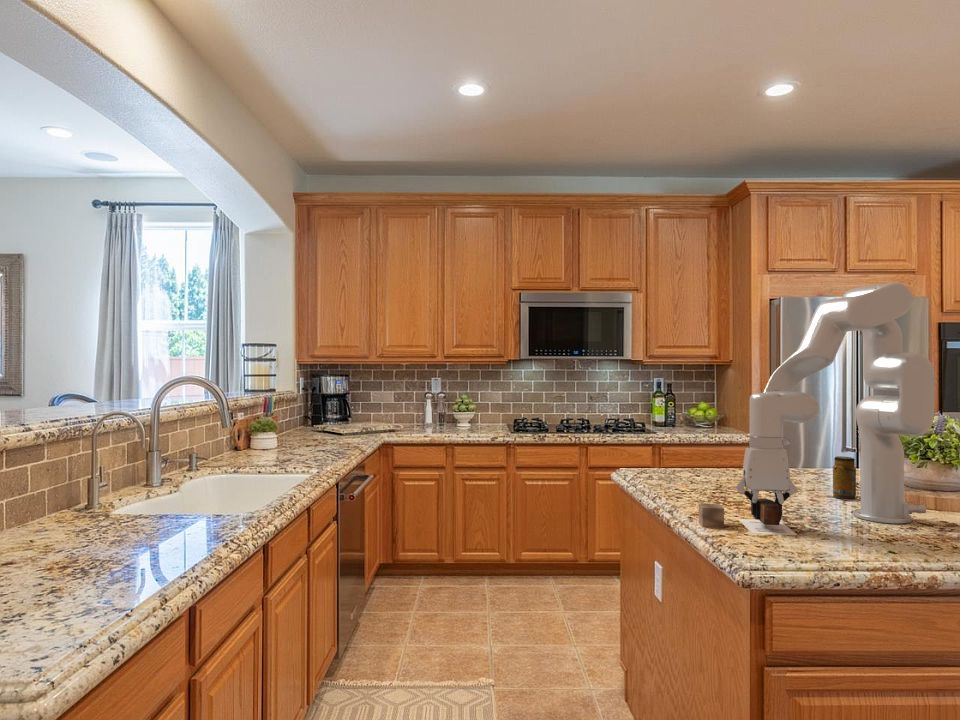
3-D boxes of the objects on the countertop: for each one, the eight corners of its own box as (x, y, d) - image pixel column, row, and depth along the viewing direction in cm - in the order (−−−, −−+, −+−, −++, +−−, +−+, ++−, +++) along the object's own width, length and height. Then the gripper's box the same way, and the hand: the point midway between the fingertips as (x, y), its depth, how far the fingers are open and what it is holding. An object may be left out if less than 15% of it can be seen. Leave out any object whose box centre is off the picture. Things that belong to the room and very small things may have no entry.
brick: (781, 526, 148) (782, 506, 148) (763, 525, 149) (764, 505, 149) (769, 515, 159) (769, 497, 159) (752, 515, 159) (752, 496, 159)
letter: (779, 521, 160) (779, 520, 160) (797, 535, 146) (797, 534, 146) (738, 519, 162) (738, 518, 162) (751, 533, 148) (751, 532, 148)
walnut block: (719, 524, 158) (719, 504, 158) (724, 529, 153) (724, 508, 153) (698, 523, 158) (698, 503, 158) (702, 528, 153) (702, 507, 153)
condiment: (845, 494, 194) (845, 455, 194) (868, 500, 185) (868, 459, 185) (825, 495, 192) (824, 456, 192) (847, 501, 184) (846, 460, 184)
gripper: (798, 442, 156) (798, 516, 156) (726, 440, 159) (726, 514, 159) (808, 446, 149) (808, 524, 149) (733, 444, 152) (733, 521, 152)
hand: (766, 518), depth 154 cm, fingers closed on brick, 4 cm apart
